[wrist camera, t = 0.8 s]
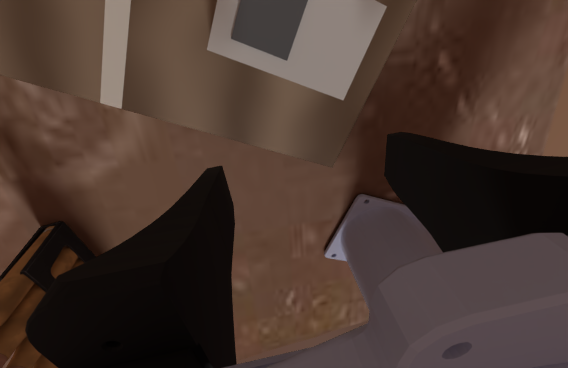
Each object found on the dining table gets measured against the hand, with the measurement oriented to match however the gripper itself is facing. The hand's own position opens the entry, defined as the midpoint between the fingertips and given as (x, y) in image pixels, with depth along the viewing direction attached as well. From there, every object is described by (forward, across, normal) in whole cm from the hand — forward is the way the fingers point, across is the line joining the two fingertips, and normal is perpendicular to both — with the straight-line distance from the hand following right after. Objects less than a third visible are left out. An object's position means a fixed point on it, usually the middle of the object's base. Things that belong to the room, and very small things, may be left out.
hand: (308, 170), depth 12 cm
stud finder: (+8, -1, -5) cm, 10 cm away
